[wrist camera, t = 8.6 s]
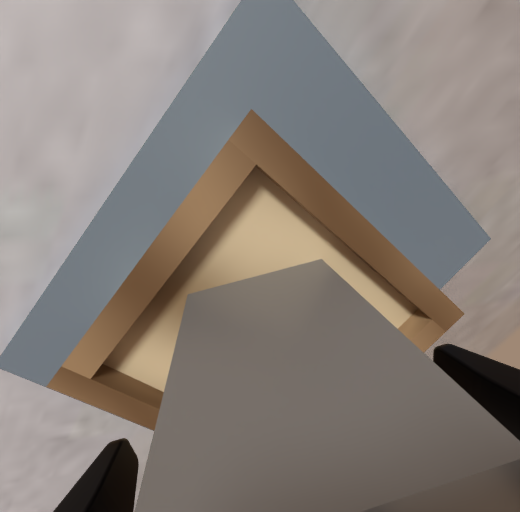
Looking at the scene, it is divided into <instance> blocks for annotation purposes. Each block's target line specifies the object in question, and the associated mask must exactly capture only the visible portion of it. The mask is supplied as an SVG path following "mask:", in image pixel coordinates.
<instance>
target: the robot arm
mask: <svg viewBox="0 0 520 512" xmlns="http://www.w3.org/2000/svg"><path fill="white" fill-rule="evenodd" d="M433 362H434V363H435V364H436V365H438V366H439V367H440V368H441V369H442V370H443V371H444V372H445V373H446V374H447V375H448V376H450V377H451V378H452V379H453V380H454V381H455V382H456V383H457V384H458V385H459V386H460V387H461V388H463V389H464V390H465V391H466V392H467V393H468V394H469V395H470V396H471V397H472V398H473V399H475V400H476V401H477V402H478V403H479V404H480V405H481V406H482V407H483V408H484V409H485V410H487V411H488V412H489V413H490V414H491V415H492V416H493V417H494V418H495V419H496V420H497V421H498V422H500V423H501V424H502V425H503V426H504V427H505V428H506V429H507V430H508V431H509V432H510V433H512V434H513V435H514V436H515V437H516V438H517V439H518V440H519V441H520V370H519V369H516V368H514V367H511V366H509V365H506V364H503V363H500V362H498V361H495V360H492V359H490V358H487V357H484V356H482V355H479V354H476V353H473V352H471V351H468V350H465V349H463V348H460V347H457V346H455V345H452V344H444V345H441V346H437V347H435V349H434V354H433ZM137 474H138V458H137V455H136V454H135V452H134V450H133V448H132V447H131V445H130V443H129V441H128V440H127V439H125V438H122V439H119V440H115V441H112V442H110V443H109V444H108V445H107V446H106V447H105V448H104V449H103V451H102V452H101V453H100V454H99V455H98V457H97V458H96V459H95V460H94V462H93V463H92V464H91V465H90V467H89V468H88V469H87V470H86V472H85V473H84V474H83V475H82V477H81V478H80V479H79V480H78V482H77V483H76V484H75V485H74V486H73V488H72V489H71V490H70V491H69V493H68V494H67V495H66V496H65V498H64V499H63V500H62V501H61V503H60V504H59V505H58V506H57V508H56V509H55V510H54V511H53V512H133V509H134V500H135V492H136V483H137Z"/></svg>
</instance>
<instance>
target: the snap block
mask: <svg viewBox="0 0 520 512" xmlns="http://www.w3.org/2000/svg"><path fill="white" fill-rule="evenodd" d="M135 512H520V441H519V440H518V439H517V438H516V437H515V436H514V435H513V434H512V433H510V432H509V431H508V430H507V429H506V428H505V427H504V426H503V425H502V424H501V423H500V422H498V421H497V420H496V419H495V418H494V417H493V416H492V415H491V414H490V413H489V412H488V411H487V410H485V409H484V408H483V407H482V406H481V405H480V404H479V403H478V402H477V401H476V400H475V399H473V398H472V397H471V396H470V395H469V394H468V393H467V392H466V391H465V390H464V389H463V388H461V387H460V386H459V385H458V384H457V383H456V382H455V381H454V380H453V379H452V378H451V377H450V376H448V375H447V374H446V373H445V372H444V371H443V370H442V369H441V368H440V367H439V366H438V365H436V364H435V363H434V362H433V361H432V360H431V359H430V358H429V357H428V356H427V355H426V354H424V353H423V352H422V351H421V350H420V349H419V348H418V347H417V346H416V345H415V344H414V343H413V342H411V341H410V340H409V339H408V338H407V337H406V336H405V335H404V334H403V333H402V332H401V331H399V330H398V329H397V328H396V327H395V326H394V325H393V324H392V323H391V322H390V321H389V320H387V319H386V318H385V317H384V316H383V315H382V314H381V313H380V312H379V311H378V310H377V309H376V308H374V307H373V306H372V305H371V304H370V303H369V302H368V301H367V300H366V299H365V298H364V297H362V296H361V295H360V294H359V293H358V292H357V291H356V290H355V289H354V288H353V287H352V286H350V285H349V284H348V283H347V282H346V281H345V280H344V279H343V278H342V277H341V276H340V275H339V274H337V273H336V272H335V271H334V270H333V269H332V268H331V267H330V266H329V265H328V264H327V263H325V262H324V261H323V260H322V259H319V260H315V261H312V262H308V263H304V264H300V265H297V266H293V267H289V268H285V269H281V270H278V271H274V272H270V273H266V274H262V275H259V276H255V277H251V278H247V279H243V280H240V281H236V282H232V283H228V284H225V285H221V286H217V287H213V288H209V289H206V290H202V291H198V292H194V293H190V294H188V295H187V299H186V303H185V307H184V312H183V316H182V320H181V324H180V328H179V332H178V336H177V340H176V344H175V348H174V353H173V357H172V361H171V365H170V369H169V373H168V377H167V381H166V385H165V389H164V394H163V398H162V402H161V406H160V410H159V414H158V418H157V422H156V426H155V430H154V435H153V439H152V443H151V447H150V451H149V455H148V459H147V463H146V467H145V471H144V476H143V480H142V484H141V488H140V492H139V496H138V500H137V504H136V508H135Z"/></svg>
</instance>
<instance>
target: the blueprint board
mask: <svg viewBox="0 0 520 512" xmlns="http://www.w3.org/2000/svg"><path fill="white" fill-rule="evenodd" d="M251 109H252V110H253V111H254V112H255V113H256V114H257V115H258V116H259V117H261V118H262V119H263V120H264V121H265V122H266V123H267V124H268V125H269V126H270V127H271V128H272V129H273V130H274V131H275V132H276V133H277V134H278V135H279V136H280V137H281V138H282V139H283V140H284V141H285V142H287V143H288V144H289V145H290V146H291V147H292V148H293V149H294V150H295V151H296V152H297V153H298V154H299V155H300V156H301V157H302V158H303V159H304V160H305V161H306V162H307V163H308V164H309V165H310V166H311V167H312V168H314V169H315V170H316V171H317V172H318V173H319V174H320V175H321V176H322V177H323V178H324V179H325V180H326V181H327V182H328V183H329V184H330V185H331V186H332V187H333V188H334V189H335V190H336V191H337V192H338V193H340V194H341V195H342V196H343V197H344V198H345V199H346V200H347V201H348V202H349V203H350V204H351V205H352V206H353V207H354V208H355V209H356V210H357V211H358V212H359V213H360V214H361V215H362V216H363V217H364V218H365V219H367V220H368V221H369V222H370V223H371V224H372V225H373V226H374V227H375V228H376V229H377V230H378V231H379V232H380V233H381V234H382V235H383V236H384V237H385V238H386V239H387V240H388V241H389V242H390V243H391V244H393V245H394V246H395V247H396V248H397V249H398V250H399V251H400V252H401V253H402V254H403V255H404V256H405V257H406V258H407V259H408V260H409V261H410V262H411V263H412V264H413V265H414V266H415V267H416V268H417V269H419V270H420V271H421V272H422V273H423V274H424V275H425V276H426V277H427V278H428V279H429V280H430V281H431V282H432V283H433V284H434V285H435V286H436V287H437V288H438V289H439V290H440V289H441V288H442V287H443V286H444V285H445V284H446V283H447V282H448V281H449V280H450V279H451V278H452V277H453V276H454V275H455V274H456V273H457V272H458V271H459V270H460V269H461V268H462V267H463V266H464V265H465V264H466V263H467V262H468V261H469V260H470V259H471V258H472V257H473V256H474V255H475V254H476V253H477V252H478V251H479V250H480V249H481V248H482V247H483V246H484V245H485V244H486V243H487V242H488V241H489V240H490V239H491V238H490V237H489V236H488V235H487V234H486V232H485V231H484V230H483V229H482V228H481V226H480V225H479V224H478V223H477V221H476V220H475V219H474V218H473V217H472V215H471V214H470V213H469V212H468V211H467V209H466V208H465V207H464V206H463V205H462V203H461V202H460V201H459V200H458V199H457V197H456V196H455V195H454V194H453V193H452V191H451V190H450V189H449V188H448V187H447V185H446V184H445V183H444V182H443V180H442V179H441V178H440V177H439V176H438V174H437V173H436V172H435V171H434V170H433V168H432V167H431V166H430V165H429V164H428V162H427V161H426V160H425V159H424V158H423V156H422V155H421V154H420V153H419V152H418V150H417V149H416V148H415V147H414V145H413V144H412V143H411V142H410V141H409V139H408V138H407V137H406V136H405V135H404V133H403V132H402V131H401V130H400V129H399V127H398V126H397V125H396V124H395V123H394V121H393V120H392V119H391V118H390V117H389V115H388V114H387V113H386V112H385V110H384V109H383V108H382V107H381V106H380V104H379V103H378V102H377V101H376V100H375V98H374V97H373V96H372V95H371V94H370V92H369V91H368V90H367V89H366V88H365V86H364V85H363V84H362V83H361V82H360V80H359V79H358V78H357V77H356V76H355V74H354V73H353V72H352V71H351V69H350V68H349V67H348V66H347V65H346V63H345V62H344V61H343V60H342V59H341V57H340V56H339V55H338V54H337V53H336V51H335V50H334V49H333V48H332V47H331V45H330V44H329V43H328V42H327V41H326V39H325V38H324V37H323V36H322V34H321V33H320V32H319V31H318V30H317V28H316V27H315V26H314V25H313V24H312V22H311V21H310V20H309V19H308V18H307V16H306V15H305V14H304V13H303V12H302V10H301V9H300V8H299V7H298V6H297V4H296V3H295V2H294V1H293V0H241V2H240V3H239V5H238V6H237V8H236V9H235V11H234V12H233V13H232V15H231V16H230V18H229V19H228V21H227V22H226V24H225V25H224V27H223V28H222V30H221V31H220V33H219V34H218V36H217V37H216V39H215V40H214V42H213V43H212V44H211V46H210V47H209V49H208V50H207V52H206V53H205V55H204V56H203V58H202V59H201V61H200V62H199V64H198V65H197V67H196V68H195V70H194V71H193V73H192V74H191V75H190V77H189V78H188V80H187V81H186V83H185V84H184V86H183V87H182V89H181V90H180V92H179V93H178V95H177V96H176V98H175V99H174V101H173V102H172V104H171V105H170V107H169V108H168V109H167V111H166V112H165V114H164V115H163V117H162V118H161V120H160V121H159V123H158V124H157V126H156V127H155V129H154V130H153V132H152V133H151V135H150V136H149V138H148V139H147V140H146V142H145V143H144V145H143V146H142V148H141V149H140V151H139V152H138V154H137V155H136V157H135V158H134V160H133V161H132V163H131V164H130V166H129V167H128V169H127V170H126V171H125V173H124V174H123V176H122V177H121V179H120V180H119V182H118V183H117V185H116V186H115V188H114V189H113V191H112V192H111V194H110V195H109V197H108V198H107V200H106V201H105V202H104V204H103V205H102V207H101V208H100V210H99V211H98V213H97V214H96V216H95V217H94V219H93V220H92V222H91V223H90V225H89V226H88V228H87V229H86V231H85V232H84V233H83V235H82V236H81V238H80V239H79V241H78V242H77V244H76V245H75V247H74V248H73V250H72V251H71V253H70V254H69V256H68V257H67V259H66V260H65V262H64V263H63V264H62V266H61V267H60V269H59V270H58V272H57V273H56V275H55V276H54V278H53V279H52V281H51V282H50V284H49V285H48V287H47V288H46V290H45V291H44V293H43V294H42V295H41V297H40V298H39V300H38V301H37V303H36V304H35V306H34V307H33V309H32V310H31V312H30V313H29V315H28V316H27V318H26V319H25V321H24V322H23V324H22V325H21V327H20V328H19V329H18V331H17V332H16V334H15V335H14V337H13V338H12V340H11V341H10V343H9V344H8V346H7V347H6V349H5V350H4V352H3V353H2V355H1V356H0V369H2V370H5V371H7V372H10V373H12V374H15V375H17V376H20V377H22V378H25V379H27V380H30V381H32V382H35V383H37V384H39V385H42V386H44V387H46V386H47V385H48V384H49V382H50V381H51V379H52V378H53V377H54V375H55V374H56V373H57V371H58V370H59V369H60V367H61V366H62V365H63V363H64V362H65V361H66V359H67V358H68V356H69V355H70V354H71V352H72V351H73V350H74V348H75V347H76V346H77V344H78V343H79V342H80V340H81V339H82V337H83V336H84V335H85V333H86V332H87V331H88V329H89V328H90V327H91V325H92V324H93V323H94V321H95V320H96V319H97V317H98V316H99V314H100V313H101V312H102V310H103V309H104V308H105V306H106V305H107V304H108V302H109V301H110V300H111V298H112V297H113V295H114V294H115V293H116V291H117V290H118V289H119V287H120V286H121V285H122V283H123V282H124V281H125V279H126V278H127V277H128V275H129V274H130V272H131V271H132V270H133V268H134V267H135V266H136V264H137V263H138V262H139V260H140V259H141V258H142V256H143V255H144V253H145V252H146V251H147V249H148V248H149V247H150V245H151V244H152V243H153V241H154V240H155V239H156V237H157V236H158V235H159V233H160V232H161V230H162V229H163V228H164V226H165V225H166V224H167V222H168V221H169V220H170V218H171V217H172V216H173V214H174V213H175V212H176V210H177V209H178V207H179V206H180V205H181V203H182V202H183V201H184V199H185V198H186V197H187V195H188V194H189V193H190V191H191V190H192V188H193V187H194V186H195V184H196V183H197V182H198V180H199V179H200V178H201V176H202V175H203V174H204V172H205V171H206V170H207V168H208V167H209V165H210V164H211V163H212V161H213V160H214V159H215V157H216V156H217V155H218V153H219V152H220V151H221V149H222V148H223V146H224V145H225V144H226V142H227V141H228V140H229V138H230V137H231V136H232V134H233V133H234V132H235V130H236V129H237V128H238V126H239V125H240V123H241V122H242V121H243V119H244V118H245V117H246V115H247V114H248V113H249V111H250V110H251ZM47 388H48V387H47ZM49 389H50V388H49ZM52 390H53V389H52ZM54 391H55V390H54ZM57 392H58V391H57ZM59 393H60V392H59ZM62 394H63V393H62ZM64 395H65V394H64ZM67 396H68V395H67ZM69 397H70V396H69ZM72 398H73V397H72ZM74 399H75V398H74ZM76 400H77V399H76ZM79 401H80V400H79ZM81 402H82V401H81ZM84 403H85V402H84ZM86 404H87V403H86ZM89 405H90V404H89ZM91 406H92V405H91ZM94 407H95V406H94ZM96 408H97V407H96ZM99 409H100V408H99ZM101 410H102V409H101ZM104 411H105V410H104ZM106 412H107V411H106ZM111 414H112V413H111ZM113 415H114V414H113ZM116 416H117V415H116ZM118 417H119V416H118ZM121 418H122V417H121ZM123 419H124V418H123ZM126 420H127V419H126ZM128 421H129V420H128ZM131 422H132V421H131ZM133 423H134V422H133ZM136 424H137V423H136ZM138 425H139V424H138ZM143 427H144V426H143ZM148 429H149V428H148ZM150 430H151V429H150ZM153 431H154V430H153Z"/></svg>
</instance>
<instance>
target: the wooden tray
mask: <svg viewBox="0 0 520 512" xmlns="http://www.w3.org/2000/svg"><path fill="white" fill-rule="evenodd" d="M319 259H322V260H323V261H324V262H325V263H327V264H328V265H329V266H330V267H331V268H332V269H333V270H334V271H335V272H336V273H337V274H339V275H340V276H341V277H342V278H343V279H344V280H345V281H346V282H347V283H348V284H349V285H350V286H352V287H353V288H354V289H355V290H356V291H357V292H358V293H359V294H360V295H361V296H362V297H364V298H365V299H366V300H367V301H368V302H369V303H370V304H371V305H372V306H373V307H374V308H376V309H377V310H378V311H379V312H380V313H381V314H382V315H383V316H384V317H385V318H386V319H387V320H389V321H390V322H391V323H392V324H393V325H394V326H395V327H396V328H397V329H398V330H399V331H401V332H402V333H403V334H404V335H405V336H406V337H407V338H408V339H409V340H410V341H411V342H413V343H414V344H415V345H416V346H417V347H418V348H419V349H420V350H421V351H422V352H423V353H424V352H425V351H426V350H427V349H428V348H429V347H430V346H431V345H432V344H433V343H434V342H435V341H437V340H438V339H439V338H440V337H441V336H442V335H443V334H444V333H445V332H446V331H447V330H448V329H449V328H450V327H451V326H452V325H453V324H454V323H455V322H457V321H458V320H459V319H460V318H461V317H462V316H463V315H464V313H463V312H462V311H461V310H460V309H459V308H458V307H457V306H456V305H455V304H454V303H453V302H452V301H451V300H450V299H449V298H448V297H447V296H446V295H444V294H443V293H442V292H441V291H440V290H439V289H438V288H437V287H436V286H435V285H434V284H433V283H432V282H431V281H430V280H429V279H428V278H427V277H426V276H425V275H424V274H423V273H422V272H421V271H420V270H419V269H417V268H416V267H415V266H414V265H413V264H412V263H411V262H410V261H409V260H408V259H407V258H406V257H405V256H404V255H403V254H402V253H401V252H400V251H399V250H398V249H397V248H396V247H395V246H394V245H393V244H391V243H390V242H389V241H388V240H387V239H386V238H385V237H384V236H383V235H382V234H381V233H380V232H379V231H378V230H377V229H376V228H375V227H374V226H373V225H372V224H371V223H370V222H369V221H368V220H367V219H365V218H364V217H363V216H362V215H361V214H360V213H359V212H358V211H357V210H356V209H355V208H354V207H353V206H352V205H351V204H350V203H349V202H348V201H347V200H346V199H345V198H344V197H343V196H342V195H341V194H340V193H338V192H337V191H336V190H335V189H334V188H333V187H332V186H331V185H330V184H329V183H328V182H327V181H326V180H325V179H324V178H323V177H322V176H321V175H320V174H319V173H318V172H317V171H316V170H315V169H314V168H312V167H311V166H310V165H309V164H308V163H307V162H306V161H305V160H304V159H303V158H302V157H301V156H300V155H299V154H298V153H297V152H296V151H295V150H294V149H293V148H292V147H291V146H290V145H289V144H288V143H287V142H285V141H284V140H283V139H282V138H281V137H280V136H279V135H278V134H277V133H276V132H275V131H274V130H273V129H272V128H271V127H270V126H269V125H268V124H267V123H266V122H265V121H264V120H263V119H262V118H261V117H259V116H258V115H257V114H256V113H255V112H254V111H253V110H252V109H251V110H250V111H249V113H248V114H247V115H246V117H245V118H244V119H243V121H242V122H241V123H240V125H239V126H238V128H237V129H236V130H235V132H234V133H233V134H232V136H231V137H230V138H229V140H228V141H227V142H226V144H225V145H224V146H223V148H222V149H221V151H220V152H219V153H218V155H217V156H216V157H215V159H214V160H213V161H212V163H211V164H210V165H209V167H208V168H207V170H206V171H205V172H204V174H203V175H202V176H201V178H200V179H199V180H198V182H197V183H196V184H195V186H194V187H193V188H192V190H191V191H190V193H189V194H188V195H187V197H186V198H185V199H184V201H183V202H182V203H181V205H180V206H179V207H178V209H177V210H176V212H175V213H174V214H173V216H172V217H171V218H170V220H169V221H168V222H167V224H166V225H165V226H164V228H163V229H162V230H161V232H160V233H159V235H158V236H157V237H156V239H155V240H154V241H153V243H152V244H151V245H150V247H149V248H148V249H147V251H146V252H145V253H144V255H143V256H142V258H141V259H140V260H139V262H138V263H137V264H136V266H135V267H134V268H133V270H132V271H131V272H130V274H129V275H128V277H127V278H126V279H125V281H124V282H123V283H122V285H121V286H120V287H119V289H118V290H117V291H116V293H115V294H114V295H113V297H112V298H111V300H110V301H109V302H108V304H107V305H106V306H105V308H104V309H103V310H102V312H101V313H100V314H99V316H98V317H97V319H96V320H95V321H94V323H93V324H92V325H91V327H90V328H89V329H88V331H87V332H86V333H85V335H84V336H83V337H82V339H81V340H80V342H79V343H78V344H77V346H76V347H75V348H74V350H73V351H72V352H71V354H70V355H69V356H68V358H67V359H66V361H65V362H64V363H63V365H62V366H61V367H60V369H59V370H58V371H57V373H56V374H55V375H54V377H53V378H52V379H51V381H50V382H49V384H48V385H47V386H46V387H48V388H50V389H53V390H55V391H58V392H60V393H63V394H65V395H68V396H70V397H73V398H75V399H77V400H80V401H82V402H85V403H87V404H90V405H92V406H95V407H97V408H100V409H102V410H105V411H107V412H109V413H112V414H114V415H117V416H119V417H122V418H124V419H127V420H129V421H132V422H134V423H137V424H139V425H141V426H144V427H146V428H149V429H151V430H155V426H156V422H157V418H158V414H159V410H160V406H161V402H162V398H163V394H164V389H165V385H166V381H167V377H168V373H169V369H170V365H171V361H172V357H173V353H174V348H175V344H176V340H177V336H178V332H179V328H180V324H181V320H182V316H183V312H184V307H185V303H186V299H187V295H188V294H190V293H194V292H198V291H202V290H206V289H209V288H213V287H217V286H221V285H225V284H228V283H232V282H236V281H240V280H243V279H247V278H251V277H255V276H259V275H262V274H266V273H270V272H274V271H278V270H281V269H285V268H289V267H293V266H297V265H300V264H304V263H308V262H312V261H315V260H319Z"/></svg>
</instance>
